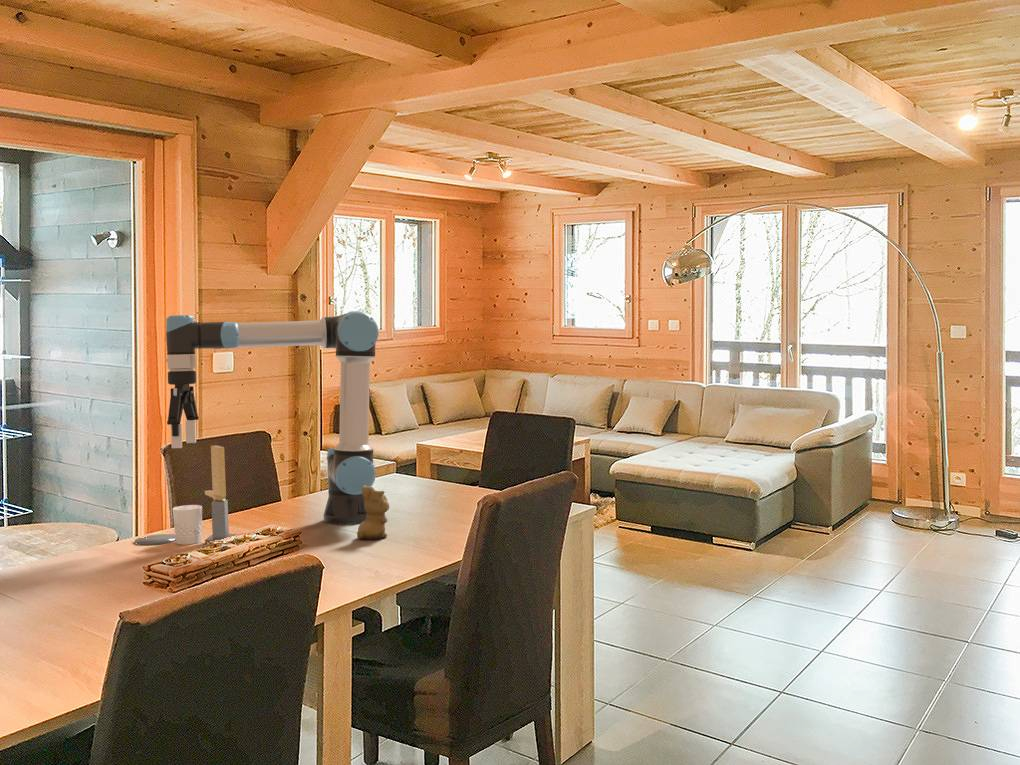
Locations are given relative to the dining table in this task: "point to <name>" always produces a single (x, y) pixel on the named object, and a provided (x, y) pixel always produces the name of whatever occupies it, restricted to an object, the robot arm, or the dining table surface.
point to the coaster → (156, 539)
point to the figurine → (373, 515)
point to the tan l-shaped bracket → (217, 474)
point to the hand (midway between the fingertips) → (184, 445)
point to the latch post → (219, 521)
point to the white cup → (188, 524)
